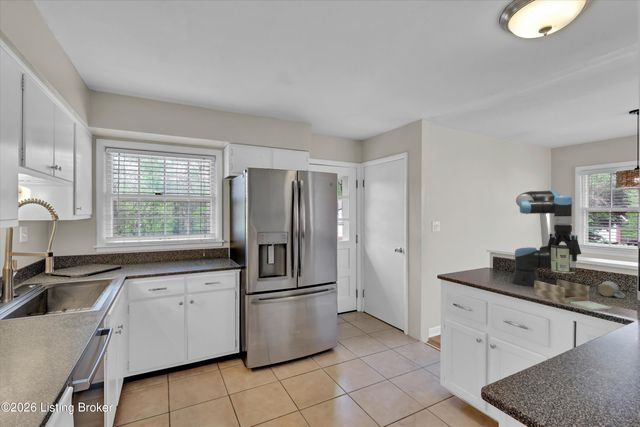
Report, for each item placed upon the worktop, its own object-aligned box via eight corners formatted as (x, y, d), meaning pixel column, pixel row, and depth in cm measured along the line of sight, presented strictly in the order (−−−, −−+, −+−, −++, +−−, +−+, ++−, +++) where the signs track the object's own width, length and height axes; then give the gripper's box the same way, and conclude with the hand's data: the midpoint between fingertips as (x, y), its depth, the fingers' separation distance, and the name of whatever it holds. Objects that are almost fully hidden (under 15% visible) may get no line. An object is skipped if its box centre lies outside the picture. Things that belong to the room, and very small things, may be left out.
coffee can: (568, 270, 166) (568, 244, 166) (580, 273, 156) (579, 246, 156) (547, 269, 168) (546, 244, 168) (557, 273, 158) (557, 246, 158)
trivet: (569, 303, 154) (569, 301, 154) (587, 302, 156) (587, 300, 156) (592, 310, 143) (592, 308, 143) (611, 309, 145) (611, 307, 145)
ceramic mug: (596, 295, 168) (597, 281, 168) (600, 293, 173) (601, 279, 173) (623, 300, 159) (623, 285, 159) (626, 297, 164) (627, 283, 164)
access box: (534, 294, 171) (534, 280, 171) (558, 293, 173) (558, 279, 173) (563, 303, 154) (563, 288, 154) (589, 301, 157) (589, 286, 157)
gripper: (538, 223, 173) (538, 262, 173) (577, 225, 150) (578, 269, 150) (549, 223, 174) (550, 262, 174) (590, 225, 151) (590, 269, 151)
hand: (563, 265), depth 162 cm, fingers closed on coffee can, 10 cm apart
